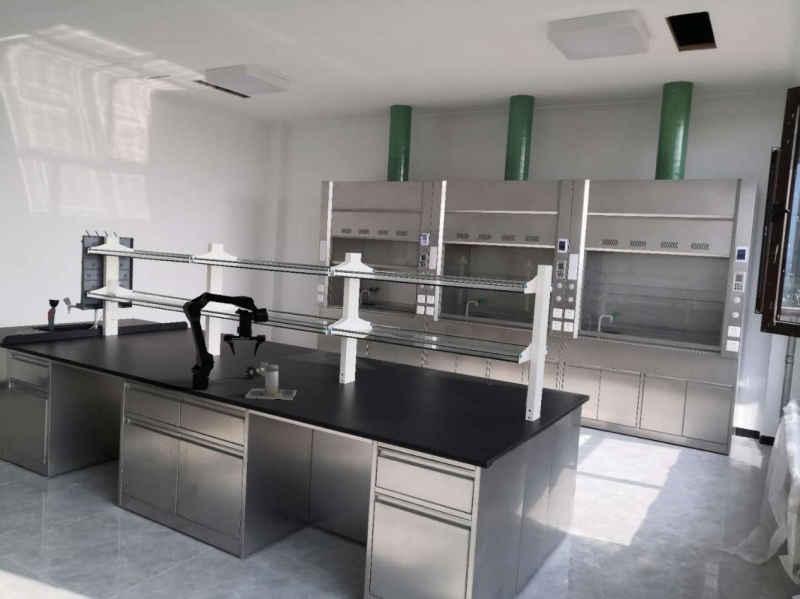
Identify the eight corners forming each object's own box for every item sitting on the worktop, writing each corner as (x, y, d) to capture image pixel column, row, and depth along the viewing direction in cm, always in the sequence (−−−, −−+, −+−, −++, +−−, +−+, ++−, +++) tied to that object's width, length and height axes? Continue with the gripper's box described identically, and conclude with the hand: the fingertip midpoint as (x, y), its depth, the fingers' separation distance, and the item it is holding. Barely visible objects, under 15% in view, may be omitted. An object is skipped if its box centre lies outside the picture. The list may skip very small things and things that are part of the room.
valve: (262, 374, 316) (245, 378, 306) (262, 361, 315) (245, 364, 305) (272, 376, 313) (255, 380, 302) (272, 363, 312) (255, 366, 302)
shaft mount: (244, 398, 267) (245, 392, 267) (252, 390, 281) (252, 385, 281) (292, 400, 268) (292, 394, 267) (296, 392, 282) (296, 386, 281)
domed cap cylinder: (263, 394, 271) (264, 367, 270) (266, 391, 277) (266, 364, 276) (276, 394, 272) (277, 367, 270) (278, 391, 277) (279, 364, 276)
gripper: (267, 321, 300) (266, 353, 301) (227, 320, 297) (226, 352, 298) (265, 324, 289) (264, 358, 290) (223, 323, 286) (223, 357, 287)
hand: (244, 356), depth 292 cm, fingers open, 9 cm apart
